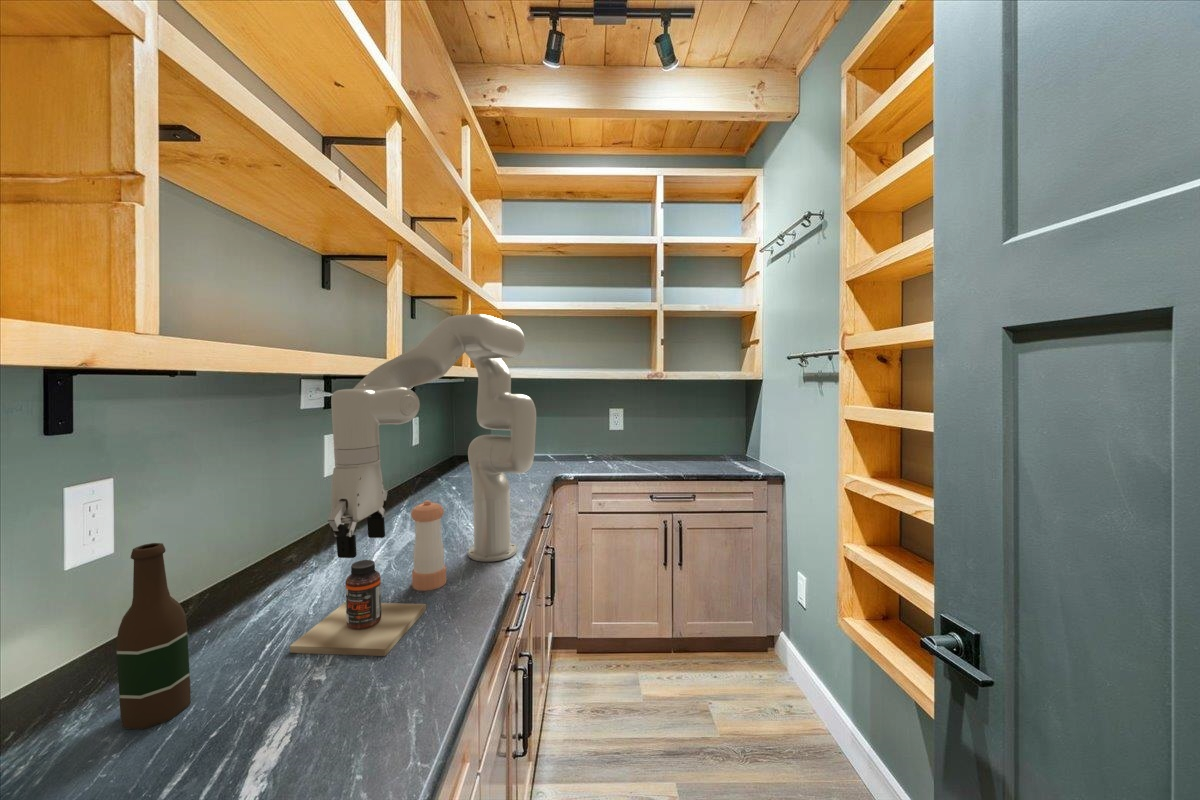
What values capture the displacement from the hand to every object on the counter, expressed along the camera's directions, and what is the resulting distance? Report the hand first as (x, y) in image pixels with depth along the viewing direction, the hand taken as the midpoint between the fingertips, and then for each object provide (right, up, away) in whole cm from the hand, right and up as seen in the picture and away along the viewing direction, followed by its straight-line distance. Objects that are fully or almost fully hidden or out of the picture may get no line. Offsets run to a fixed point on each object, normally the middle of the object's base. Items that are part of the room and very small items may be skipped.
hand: (362, 546), depth 90 cm
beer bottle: (-19, -17, -21) cm, 33 cm away
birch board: (0, -16, 0) cm, 16 cm away
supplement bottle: (0, -15, +1) cm, 15 cm away
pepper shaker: (+5, -15, +20) cm, 25 cm away
